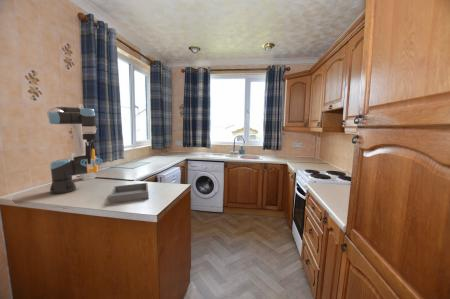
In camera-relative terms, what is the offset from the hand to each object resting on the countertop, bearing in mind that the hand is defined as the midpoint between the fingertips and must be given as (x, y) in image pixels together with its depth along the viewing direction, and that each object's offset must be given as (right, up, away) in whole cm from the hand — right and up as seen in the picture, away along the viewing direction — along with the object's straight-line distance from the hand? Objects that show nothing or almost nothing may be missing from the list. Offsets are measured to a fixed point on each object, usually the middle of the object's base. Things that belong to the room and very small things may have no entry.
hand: (92, 167), depth 131 cm
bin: (+22, -20, +7) cm, 31 cm away
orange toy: (0, -3, 0) cm, 3 cm away
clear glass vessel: (-40, -15, +54) cm, 69 cm away
